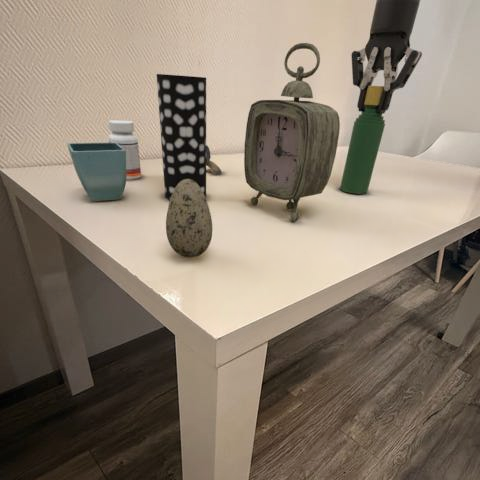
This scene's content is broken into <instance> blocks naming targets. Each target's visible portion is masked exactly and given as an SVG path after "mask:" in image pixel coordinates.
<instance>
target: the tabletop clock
mask: <svg viewBox="0 0 480 480" xmlns="http://www.w3.org/2000/svg"><path fill="white" fill-rule="evenodd" d="M304 49H305V50H310V51H311V52H313V54H314V56H315V57H316V63H315V66H314V68H312V69H311V70H309V71H306V72H304V71H305V69H304V67H303V66H301V65H300V66H298V67H297V68H296V72H295V71H293V70H291V69H290V68H289V67H288V61H289V58H290V57H291V55H292V54H293V53H294V52H295V51H297V50H298V51H299V50H304ZM320 55H321V54H320V52H319V50H318V47H316V46H315V44H313V43H308V42H300V43H297V44H294V45H293V46H291V48H290V49H289V50H288V51H287V53H286V55H285V56H284V57H285V58H284V62H283V63H284V64H283V65H284V70H285V71H286V73H287V75H289V76H290V77H292V78H293V79H295V80H291V81H289V82H288V83H286V85H284V88H283V89H282V92H281V93H280V97H288V98H293V99H291V100H289V99H261V100H260V99H259V100H256V101H255V102H253V103H252V104H251V105H250V109H249V111H248V115H247V119H246V120H247V121H246V127H245V138H244V153H243V154H244V156H243V157H244V158H243V164H244V165H243V166H244V177H245V183H246V184H247V185H248V186H249V187H250V188H252V190H255V191H256V192H258V193H257V195H256V196H252V197H251V198H250V199H249V201H250V204H251V206H254V207H255V206H257V205H258V204H259V198H261V196H262V195H264V196H266V197H270V198H274V199H277V200H282V201H288V202H286V205H285V207H286V209H287V210H289V211H292V210H293V212H292V213H291V214H290V215H289V219H290V221H291V222H293V223H295V222H297V221H299V219H300V215H299V212H297V211H298V206H299V201H300V200H301V198H306V197H311V196H317V195H320V194H322V193H323V191H324V190H325V188H326V186H327V185H328V183H329V180H330V178H331V175H332V171H333V167H334V163H335V159H336V155H337V149H338V144H339V138H340V129H341V128H340V127H341V126H340V125H341V123H340V122H341V121H340V115H339V112H338V111H337V110H336V109H334V108H333V107H331V106H329V105H327V104H323V103H320V102H314V101H310V100H300V99H314V94H313V89H312V87H311V85H310V84H309V83H308V82H307V81H304V79H307V78H309V77H312V76H314V74H315V73H316V72H317V70H318V69H319V67H320V63H321V56H320Z"/></svg>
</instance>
